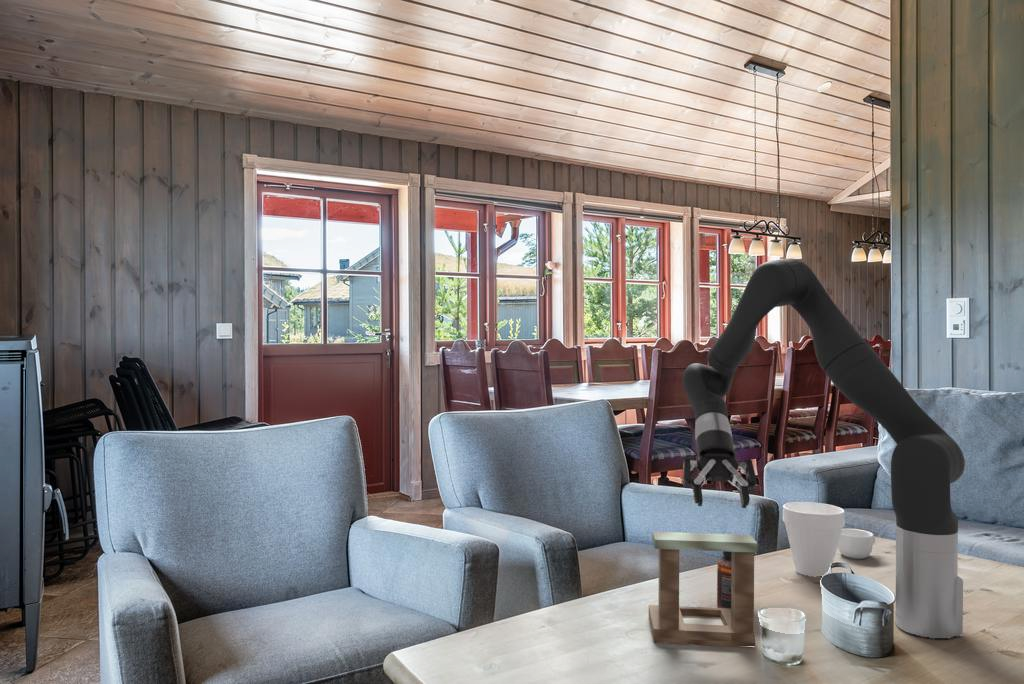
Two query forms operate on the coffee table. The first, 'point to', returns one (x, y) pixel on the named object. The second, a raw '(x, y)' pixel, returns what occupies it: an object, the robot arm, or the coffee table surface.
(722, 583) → the supplement bottle
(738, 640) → the socket stand
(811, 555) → the white flower pot
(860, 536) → the teacup
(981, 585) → the coffee table surface
